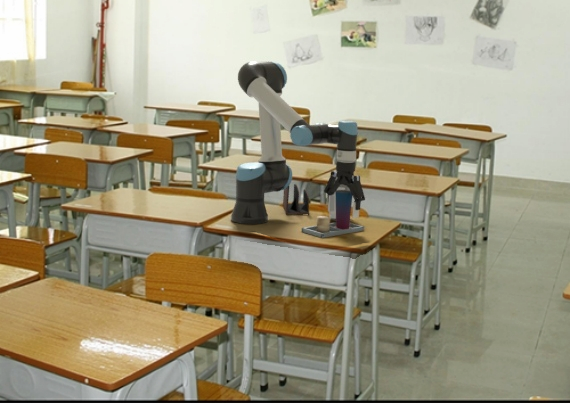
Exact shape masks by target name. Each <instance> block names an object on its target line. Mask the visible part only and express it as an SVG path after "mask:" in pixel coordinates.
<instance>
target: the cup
mask: <svg viewBox="0 0 570 404" xmlns="http://www.w3.org/2000/svg"><path fill="white" fill-rule="evenodd" d="M335 194H336V221H335V222H336V228H339V229H342V230H344V229H349V224H350V223H351V222H350V221H351V214H352V213H351V212H352V206H353V204H352V203H353V196H352V194H351V191H350V190H336V191H335Z"/></svg>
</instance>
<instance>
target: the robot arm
mask: <svg viewBox="0 0 570 404" xmlns="http://www.w3.org/2000/svg"><path fill="white" fill-rule="evenodd" d="M237 80H238V81H237V82H238V85H239V86H240V88H241V90H242V91H243V92H244V93H245V94H246V95H247V96H248V97H249V98H253V99H255V100H256V101H257V103H258V117H259V118H258V119H259V131H260V132H259V133H260V150H261V157H260V158H259V159H258V162H257V161H256V162H254V161H253V162H245V163H242V164H240V165H238V167H237V168H236V173H235V174H236V175H235V203H234V207H233V209H232V212H231V214H230V215H231V216H230V221H231V222H234V223H237V224H241V225H242V224H244V225H256V224H257V225H260V224H265V223H267V222H268V220H269V215H268V211H267V208H266V204H265V194H269V193H273V192H277V193H278V192H280V191H284V189H286V188H287V187H288V186H289V187H290V185H291V183H292V181H293V170H292V168H291V167H290V165H289V164H288V163H287V159H286V157H284V156H283V148H282V131H281V126H282V127H283V128H284V129H285V130H286V131H288V133H289V134H290V135H289V136H290V139H291V143H293V145H295V146H297V147H298V146H302V147H306V146H312V145H322V144H331V145H332V144H333V145H336V160H337V161H336V162H335V163H336V164H335V170H331V171H330V176H329V179H328V182H327V183H326V185H325V188H324V190H323V192H324V193H325V194H327V195H328V208H327V212H329V213H330V212H332V211H334V205H335V195H333V194H334V193H335V191H336V190H337V189H338V187H339V186H340V185H342V184H343V185H347V187H348V188H349V189H350V191H351V194H352V199H353V201H352V203H353V204H352V216H351V217H352V219H358V218H360V217H359V216H360V210H361V203H362V202H363V201H365V200H366V197H365V194H364V193H365V192H364V190H363V186H362V182H361V175H355V171H356V165H357V164H356V161H357V143H358V133H359V132H358V122H357V121H354V120H339V121H338V123H337V124H331V123H326V122H317V123H314V124H309V123H308V122H307V121H306V119H304V118H303V117H302V116H301V115H300V114H299V113H298V112H297V111H296V110H294V108H292V106H291V105H290V104H288V103H287V102H286V101H285V99H283V98H282V97H281V96H282V94H283V89H284V88H285V86H286V84H287V83H288V75H287V72H286V70H285V67H283V66H282V64H280V63H279V62H276V61H275V62H274V61H249V62H246V63H244V64H243V65H241V67H240V68H239V70H238V73H237ZM336 178H337V179H336ZM335 180H336V181H335ZM334 182H335V183H334ZM327 195H326V196H327Z"/></svg>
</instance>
